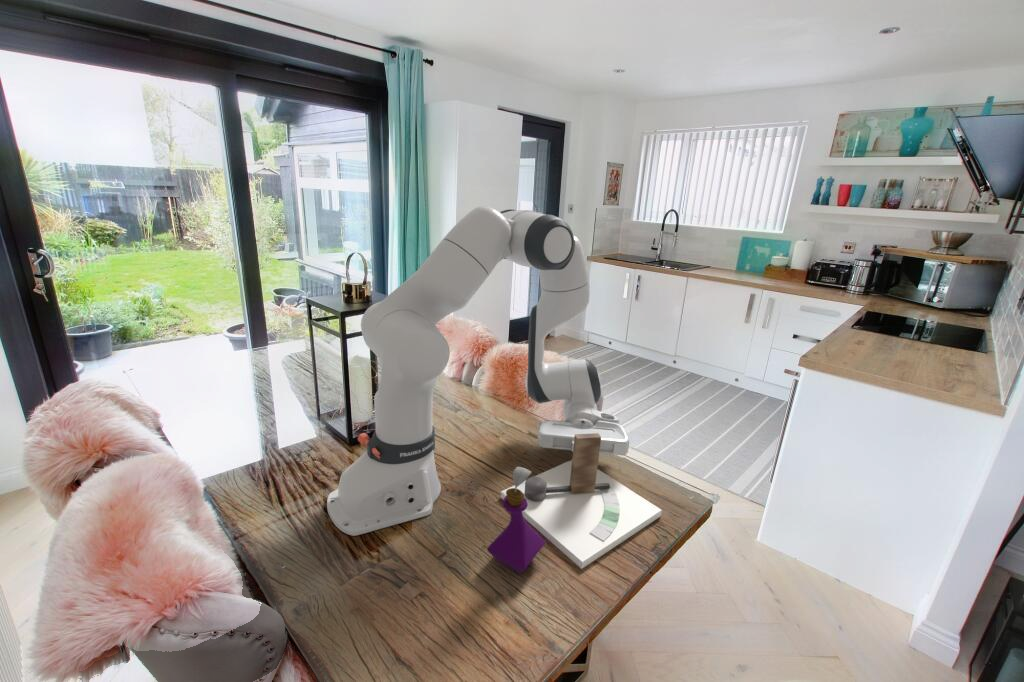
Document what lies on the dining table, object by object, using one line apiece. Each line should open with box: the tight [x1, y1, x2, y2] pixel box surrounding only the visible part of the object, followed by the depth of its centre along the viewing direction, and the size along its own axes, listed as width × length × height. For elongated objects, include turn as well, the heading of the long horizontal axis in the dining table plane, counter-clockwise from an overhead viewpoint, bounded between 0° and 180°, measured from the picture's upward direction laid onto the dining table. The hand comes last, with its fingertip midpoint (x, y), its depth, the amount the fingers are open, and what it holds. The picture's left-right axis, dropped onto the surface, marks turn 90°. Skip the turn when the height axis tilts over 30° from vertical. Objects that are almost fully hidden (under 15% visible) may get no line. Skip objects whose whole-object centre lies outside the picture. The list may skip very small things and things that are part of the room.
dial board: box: [500, 459, 663, 570], centre depth 92 cm, size 23×23×2 cm
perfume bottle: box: [486, 466, 547, 574], centre depth 75 cm, size 8×8×18 cm
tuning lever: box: [525, 433, 610, 501], centre depth 91 cm, size 18×4×13 cm, turn 100°
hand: (584, 456), depth 95 cm, fingers closed
